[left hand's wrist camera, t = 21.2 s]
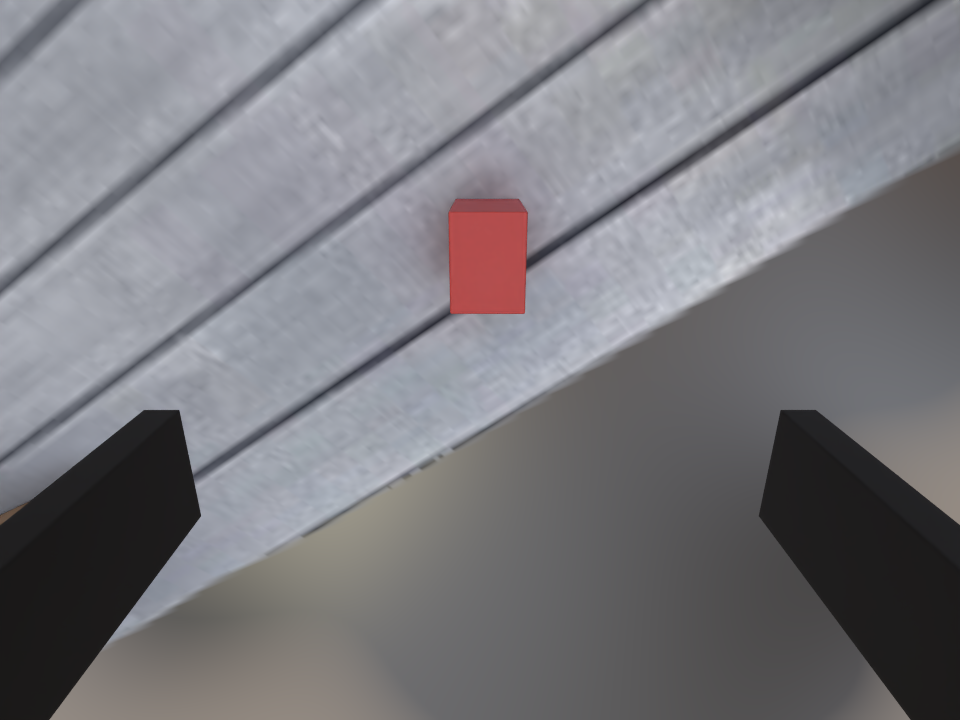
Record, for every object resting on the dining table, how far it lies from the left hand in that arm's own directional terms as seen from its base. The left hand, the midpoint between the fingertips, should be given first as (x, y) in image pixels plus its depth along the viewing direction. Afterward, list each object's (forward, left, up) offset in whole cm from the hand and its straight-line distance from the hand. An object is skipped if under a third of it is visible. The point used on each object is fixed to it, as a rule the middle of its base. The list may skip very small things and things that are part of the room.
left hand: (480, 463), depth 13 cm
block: (0, 0, -33) cm, 33 cm away
